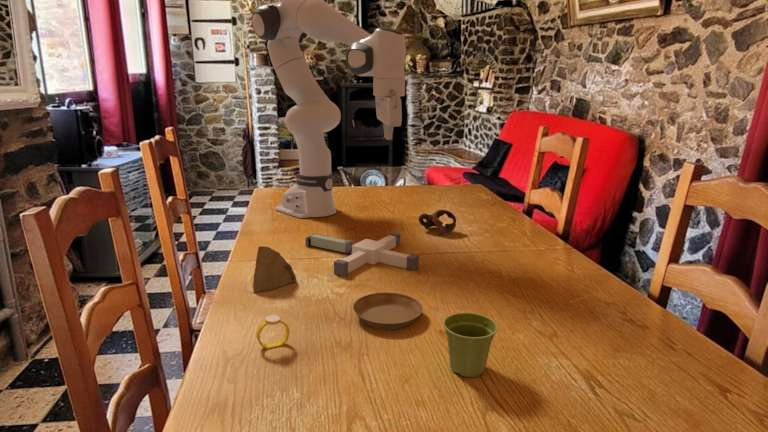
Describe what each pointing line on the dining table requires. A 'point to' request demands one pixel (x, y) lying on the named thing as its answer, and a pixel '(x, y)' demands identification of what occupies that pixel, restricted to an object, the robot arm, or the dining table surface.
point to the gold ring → (272, 321)
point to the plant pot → (469, 342)
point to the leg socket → (309, 240)
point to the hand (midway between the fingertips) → (388, 139)
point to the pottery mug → (438, 221)
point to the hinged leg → (332, 243)
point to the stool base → (376, 255)
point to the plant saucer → (387, 310)
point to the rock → (271, 270)
